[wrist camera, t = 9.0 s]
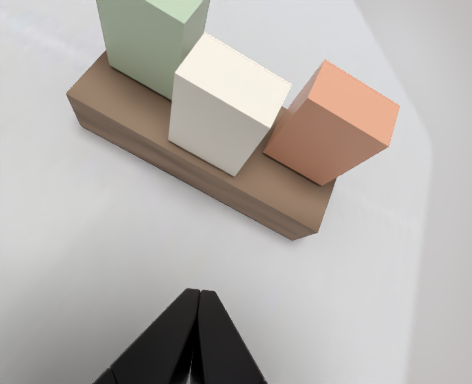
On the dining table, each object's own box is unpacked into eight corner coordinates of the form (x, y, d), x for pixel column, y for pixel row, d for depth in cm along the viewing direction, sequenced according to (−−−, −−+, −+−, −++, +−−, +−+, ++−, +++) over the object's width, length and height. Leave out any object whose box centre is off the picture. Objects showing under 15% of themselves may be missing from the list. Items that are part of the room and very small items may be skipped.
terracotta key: (321, 185, 21) (388, 146, 15) (262, 152, 20) (307, 97, 14) (333, 154, 22) (399, 105, 16) (277, 121, 22) (324, 59, 16)
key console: (292, 240, 24) (317, 232, 20) (80, 125, 22) (65, 93, 18) (321, 164, 27) (347, 145, 23) (137, 58, 25) (134, 19, 21)
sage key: (175, 102, 20) (184, 23, 14) (109, 64, 19) (89, -34, 13) (195, 73, 21) (212, -11, 15) (133, 37, 20) (125, -65, 15)
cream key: (234, 176, 19) (270, 128, 13) (168, 139, 19) (174, 72, 13) (251, 143, 20) (292, 84, 14) (189, 107, 20) (204, 31, 14)
